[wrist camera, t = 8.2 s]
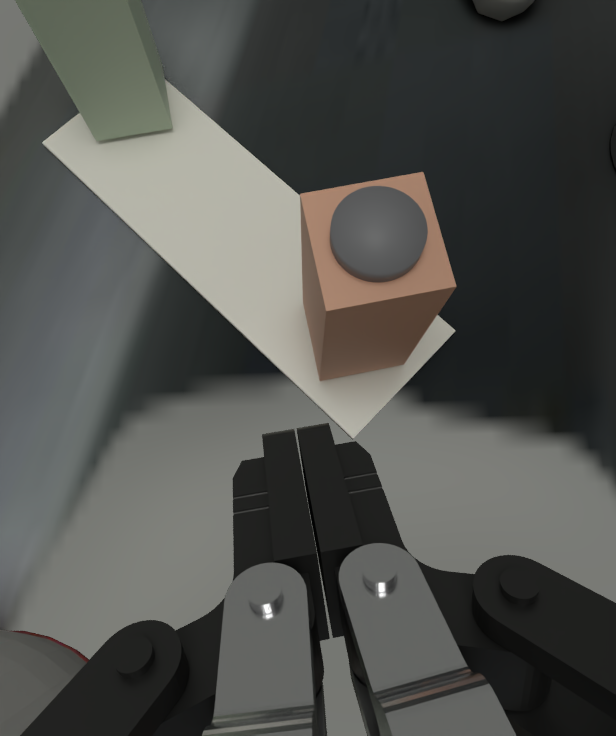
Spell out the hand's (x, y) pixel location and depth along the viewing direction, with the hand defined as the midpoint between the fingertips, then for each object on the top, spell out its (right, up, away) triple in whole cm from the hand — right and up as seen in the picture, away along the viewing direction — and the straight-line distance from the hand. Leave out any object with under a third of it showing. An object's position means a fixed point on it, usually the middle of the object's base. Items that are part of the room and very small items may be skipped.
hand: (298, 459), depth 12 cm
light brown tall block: (+3, +4, +21) cm, 21 cm away
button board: (-4, +11, +22) cm, 25 cm away
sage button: (-12, +19, +25) cm, 33 cm away
